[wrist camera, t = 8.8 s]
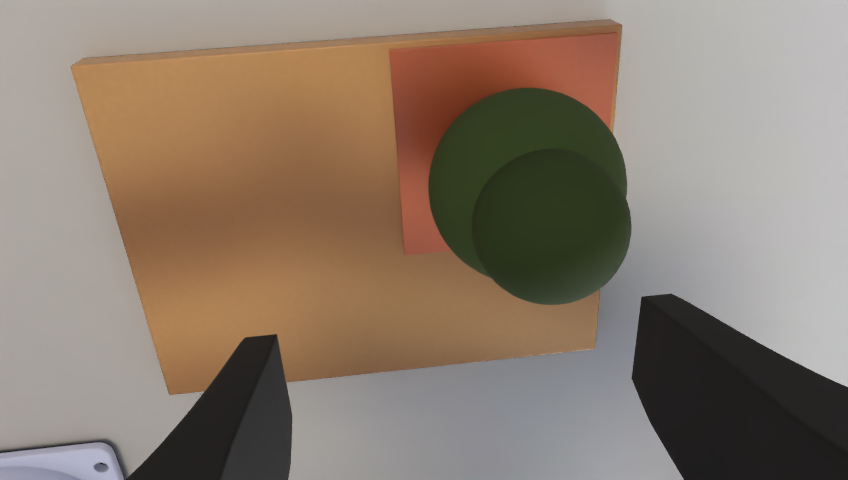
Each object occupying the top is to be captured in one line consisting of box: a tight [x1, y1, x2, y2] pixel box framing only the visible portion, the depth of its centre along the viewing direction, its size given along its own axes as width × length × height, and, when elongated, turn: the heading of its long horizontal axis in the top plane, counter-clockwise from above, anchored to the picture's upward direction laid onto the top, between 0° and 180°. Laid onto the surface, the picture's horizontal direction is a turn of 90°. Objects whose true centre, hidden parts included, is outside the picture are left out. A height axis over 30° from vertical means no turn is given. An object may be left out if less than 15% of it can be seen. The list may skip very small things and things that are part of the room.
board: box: [71, 19, 622, 395], centre depth 22 cm, size 12×16×1 cm
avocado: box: [428, 88, 631, 305], centre depth 18 cm, size 5×5×7 cm
